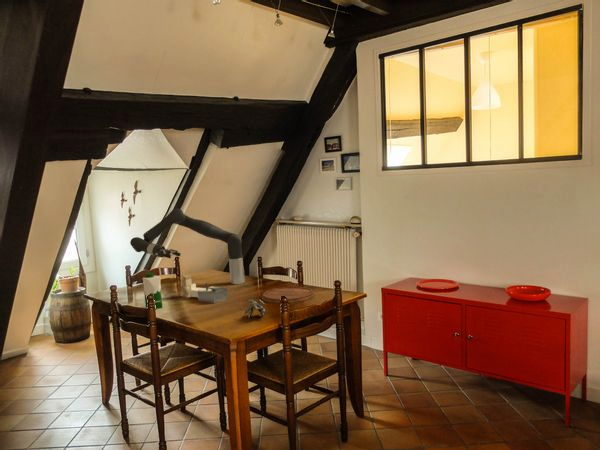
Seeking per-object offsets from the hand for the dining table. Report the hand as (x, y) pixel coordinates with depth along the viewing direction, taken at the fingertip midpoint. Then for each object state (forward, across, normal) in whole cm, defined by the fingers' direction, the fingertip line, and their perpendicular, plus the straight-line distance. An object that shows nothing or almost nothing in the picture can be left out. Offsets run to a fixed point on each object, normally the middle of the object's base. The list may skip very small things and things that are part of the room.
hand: (175, 255), depth 306 cm
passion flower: (+76, -22, +12) cm, 81 cm away
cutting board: (+72, +20, +12) cm, 76 cm away
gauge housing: (+33, 0, +20) cm, 38 cm away
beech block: (+11, +2, +24) cm, 26 cm away
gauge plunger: (+22, +1, +20) cm, 30 cm away
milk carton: (+11, -26, +25) cm, 38 cm away
